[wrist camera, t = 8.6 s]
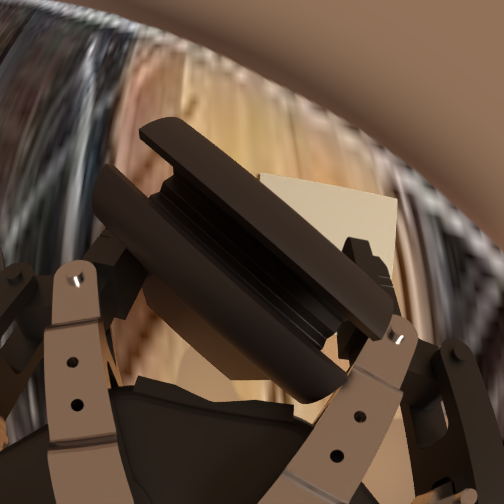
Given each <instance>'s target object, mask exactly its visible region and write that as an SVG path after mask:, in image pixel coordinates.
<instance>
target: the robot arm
mask: <svg viewBox="0 0 504 504" xmlns="http://www.w3.org/2000/svg"><path fill="white" fill-rule="evenodd" d="M342 252H343V253H344V254H345V255H346V256H347V257H348V258H349V259H350V260H351V261H353V262H354V263H355V264H356V265H357V266H358V267H359V268H360V269H361V270H362V271H363V272H365V273H366V274H367V275H368V276H369V277H370V278H371V279H372V280H373V281H374V282H375V283H376V284H377V285H378V286H380V287H381V288H382V289H383V290H384V291H385V292H386V293H387V294H388V295H389V296H390V297H391V298H392V300H393V303H394V309H393V315H392V318H391V321H390V324H389V326H388V328H387V331H386V333H385V335H384V336H383V338H382V340H378V341H374V342H373V341H372V340H371V339H370V338H369V337H367V336H366V335H365V334H364V333H363V332H362V331H361V330H360V329H358V328H357V327H356V326H355V325H354V324H353V323H352V322H351V321H350V320H348V321H345V322H342V323H341V325H340V327H339V328H338V330H337V344H338V358H339V359H346V360H349V363H350V367H349V368H348V370H347V371H346V373H347V377H348V381H347V382H346V383H345V384H343V385H342V386H341V387H340V388H338V389H337V390H336V391H334V392H333V394H332V395H331V397H330V398H329V400H328V402H327V403H326V405H325V406H324V408H323V409H322V411H321V412H320V413H319V415H318V416H317V418H316V419H315V420H314V422H313V423H312V424H311V423H309V422H307V421H305V420H303V419H301V418H299V417H297V416H294V415H293V413H294V405H291V404H282V403H274V402H267V401H259V400H247V401H232V402H211V401H208V400H206V399H204V398H202V397H199V396H197V395H195V394H193V393H191V392H189V391H187V390H185V389H182V388H180V387H178V386H176V385H174V384H170V383H165V382H161V381H157V380H153V379H149V378H146V377H142V376H138V377H137V380H136V383H135V386H134V385H130V386H123V384H122V381H121V377H120V373H119V368H118V363H117V357H116V352H115V346H114V340H113V334H112V328H111V323H112V321H113V319H114V317H115V318H119V319H123V320H126V318H127V315H128V313H129V311H130V309H131V307H132V305H133V303H134V301H135V299H136V297H137V295H138V293H139V291H140V289H141V287H142V285H143V283H144V281H145V279H146V277H147V276H146V274H145V271H144V269H143V267H142V265H141V263H140V262H139V261H138V260H137V259H136V258H135V257H134V256H133V255H132V254H131V253H130V252H129V251H128V250H127V248H126V247H125V246H124V245H123V244H122V243H121V242H120V241H119V240H118V239H117V238H116V237H115V236H114V235H113V234H112V233H111V232H110V231H109V230H108V229H107V228H106V229H105V230H103V232H102V233H101V234H100V237H98V238H97V239H96V241H95V242H94V243H93V245H92V246H91V247H90V248H89V250H88V251H87V252H86V254H85V255H84V256H83V258H82V259H81V260H75V261H71V262H68V263H66V264H64V265H63V266H61V267H60V268H59V269H58V270H57V272H56V273H55V275H38V276H35V274H34V271H33V268H32V266H31V265H30V264H28V263H25V262H18V263H14V264H11V265H9V266H8V267H6V268H5V269H4V261H3V255H2V252H1V249H0V339H1V337H2V336H3V334H4V333H5V332H6V330H7V329H8V327H9V326H10V325H11V323H12V322H13V321H14V319H15V321H16V323H17V325H18V326H17V327H16V328H15V330H14V331H13V332H12V334H11V335H10V337H9V338H8V339H7V341H6V342H5V344H4V345H3V347H2V348H1V350H0V504H379V503H378V501H377V500H376V499H375V498H374V497H373V495H372V494H371V493H370V492H369V490H368V489H367V488H366V487H365V485H364V484H363V483H362V479H363V477H364V475H365V474H366V472H367V470H368V468H369V466H370V465H371V463H372V461H373V459H374V457H375V455H376V453H377V451H378V449H379V447H380V445H381V443H382V441H383V439H384V437H385V435H386V433H387V431H388V428H389V427H390V424H391V422H392V420H393V418H394V416H395V413H396V411H397V409H398V406H399V404H400V407H401V412H402V417H403V422H404V427H405V432H406V438H407V443H408V449H409V455H410V461H411V468H412V475H413V481H414V489H415V499H414V500H413V501H412V502H411V504H504V446H503V442H502V438H501V435H500V431H499V427H498V424H497V421H496V417H495V414H494V411H493V408H492V405H491V402H490V398H489V396H488V393H487V390H486V387H485V384H484V381H483V378H482V376H481V373H480V370H479V368H478V365H477V363H476V360H475V357H474V355H473V353H472V351H471V350H470V348H469V347H468V346H467V345H466V344H465V343H463V342H462V341H460V340H458V339H453V338H450V339H446V340H445V341H444V342H443V343H442V344H441V345H440V346H439V347H438V346H435V345H433V344H430V343H428V342H425V341H423V340H421V339H419V338H418V334H417V331H416V329H415V328H414V326H413V325H412V324H411V323H410V322H409V321H408V320H406V319H405V318H403V317H402V316H401V313H400V309H399V305H398V302H397V298H396V295H395V291H394V288H393V284H392V281H391V279H390V274H389V271H388V268H387V266H386V265H385V263H384V262H383V261H382V260H381V258H380V257H379V256H373V254H372V250H371V247H370V244H369V241H368V240H363V239H358V238H353V237H347V239H346V241H345V243H344V246H343V249H342ZM43 356H44V371H45V392H46V406H47V417H48V424H46V425H45V426H43V427H41V428H40V429H38V430H36V431H34V432H33V433H31V434H29V435H28V436H26V437H24V438H22V439H21V440H19V441H17V442H16V443H14V444H12V445H10V446H9V447H7V448H5V449H3V447H5V446H6V445H7V444H8V436H7V435H6V424H5V421H6V419H7V417H8V415H9V413H10V411H11V410H12V408H13V406H14V404H15V402H16V401H17V399H18V397H19V395H20V394H21V392H22V390H23V388H24V387H25V385H26V383H27V382H28V380H29V378H30V377H31V375H32V373H33V372H34V370H35V368H36V367H37V365H38V364H39V362H40V360H41V359H42V357H43ZM441 401H443V403H444V407H445V410H446V414H447V418H448V430H447V426H446V422H445V418H444V414H443V410H442V406H441V403H440V402H441Z"/></svg>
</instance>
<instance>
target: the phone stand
mask: <svg viewBox="0 0 504 504" xmlns="http://www.w3.org/2000/svg"><path fill="white" fill-rule="evenodd" d="M139 137H140V139H141V140H142V141H143V142H145V143H146V144H147V145H148V146H149V147H150V148H152V149H153V150H154V151H155V152H156V153H157V154H159V155H160V156H161V157H162V158H163V159H165V160H166V161H167V162H168V163H169V164H170V165H172V166H173V173H174V175H173V176H171V177H170V178H168V179H167V180H165V181H164V182H163V184H162V187H161V190H160V192H158V193H155V194H153V195H150V197H149V198H148V197H147V196H146V195H145V194H143V193H142V192H141V191H140V190H139V189H138V188H137V187H136V186H135V185H134V184H133V183H132V182H131V181H130V180H129V179H128V178H126V177H125V176H124V175H123V174H122V173H121V172H120V171H119V170H118V169H117V168H116V167H115V166H114V165H110V164H105V165H104V167H103V169H102V171H101V172H100V174H99V177H98V179H97V181H96V184H95V187H94V191H93V196H92V208H93V212H94V214H95V216H96V217H97V218H98V219H99V220H100V221H101V222H102V223H103V224H104V226H105V227H106V228H107V229H108V230H109V231H110V232H111V233H112V234H113V235H114V236H115V237H116V238H117V239H118V240H119V241H120V242H121V243H122V244H123V245H124V246H125V247H126V248H127V250H128V251H129V252H130V253H131V254H132V255H133V256H134V257H135V258H136V259H137V260H138V261H139V262H140V263H141V265H142V267H143V269H144V271H145V274H146V276H147V277H146V279H145V281H144V283H143V285H142V289H143V293H144V296H145V299H146V302H147V305H148V306H149V307H150V308H151V309H152V310H153V311H154V312H155V313H156V314H157V315H158V316H159V317H161V318H162V319H163V320H164V321H165V322H166V323H167V324H168V325H169V326H170V327H171V328H172V329H173V330H174V331H175V332H176V333H178V334H179V335H180V336H181V337H182V338H183V339H184V340H185V341H186V342H187V343H188V344H190V345H191V346H192V347H193V348H194V349H195V350H196V351H197V352H199V353H200V354H201V355H202V356H203V357H204V358H205V359H207V360H208V361H209V362H210V363H211V364H212V365H213V366H215V367H216V368H217V369H218V370H219V371H220V372H222V373H223V374H224V375H225V376H226V377H228V378H229V379H230V380H271V381H273V382H274V383H275V384H276V385H278V386H279V387H280V388H281V389H283V390H284V391H285V392H286V393H288V394H289V395H290V396H292V397H293V398H294V399H295V400H297V401H298V402H299V403H301V404H310V403H314V402H316V401H319V400H321V399H323V398H325V397H327V396H328V395H330V394H331V393H333V392H334V391H336V390H337V389H338V388H340V387H341V386H342V385H343V384H345V383H346V382H347V381H348V377H347V373H346V372H345V371H344V370H342V369H341V368H340V367H339V366H338V365H336V364H335V363H334V362H333V361H332V360H331V359H329V358H328V357H327V356H326V355H325V354H323V353H322V352H321V351H320V350H321V349H322V348H323V347H324V344H325V342H326V339H327V338H329V337H331V336H332V335H334V334H335V333H336V332H337V330H338V328H339V327H340V325H341V323H342V322H345V321H348V320H350V321H351V322H352V323H353V324H354V325H355V326H356V327H357V328H358V329H360V330H361V331H362V332H363V333H364V334H365V335H366V336H367V337H369V338H370V339H371V340H372V341H373V342H374V341H378V340H382V338H383V336H384V335H385V333H386V331H387V328H388V326H389V324H390V321H391V318H392V315H393V309H394V303H393V300H392V298H391V297H390V296H389V295H388V294H387V293H386V292H385V291H384V290H383V289H382V288H381V287H380V286H378V285H377V284H376V283H375V282H374V281H373V280H372V279H371V278H370V277H369V276H368V275H367V274H366V273H365V272H363V271H362V270H361V269H360V268H359V267H358V266H357V265H356V264H355V263H354V262H353V261H351V260H350V259H349V258H348V257H347V256H346V255H345V254H344V253H343V252H342V251H340V250H339V249H338V248H337V247H336V246H335V245H334V244H333V243H331V242H330V241H329V240H328V239H327V238H326V237H325V236H324V235H322V234H321V233H320V232H319V231H318V230H317V229H316V228H314V227H313V226H312V225H311V224H310V223H309V222H308V221H306V220H305V219H304V218H303V217H302V216H301V215H299V214H298V213H297V212H296V211H295V210H294V209H292V208H291V207H290V206H289V205H288V204H287V203H285V202H284V201H283V200H282V199H281V198H279V197H278V196H277V195H276V194H275V193H274V192H272V191H271V190H270V189H269V188H268V187H266V186H265V185H264V184H263V183H261V182H260V181H259V180H258V179H257V178H255V177H254V176H253V175H252V174H251V173H249V172H248V171H247V170H246V169H244V168H243V167H242V166H241V165H239V164H238V163H237V162H236V161H234V160H233V159H232V158H231V157H229V156H228V155H227V154H226V153H224V152H223V151H222V150H221V149H219V148H218V147H217V146H215V145H214V144H213V143H212V142H210V141H209V140H208V139H207V138H205V137H204V136H203V135H201V134H200V133H199V132H197V131H196V130H195V129H194V128H192V127H191V126H190V125H188V124H187V123H186V122H184V121H183V120H181V119H179V118H176V117H166V118H161V119H158V120H155V121H153V122H150V123H148V124H146V125H145V126H143V127H141V128H140V129H139Z"/></svg>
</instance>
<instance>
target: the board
mask: <svg viewBox="0 0 504 504" xmlns="http://www.w3.org/2000/svg"><path fill="white" fill-rule="evenodd" d="M260 182H261V183H263V184H264V185H265V186H266V187H268V188H269V189H270V190H271V191H272V192H274V193H275V194H276V195H277V196H278V197H279V198H281V199H282V200H283V201H284V202H285V203H287V204H288V205H289V206H290V207H291V208H292V209H294V210H295V211H296V212H297V213H298V214H299V215H301V216H302V217H303V218H304V219H305V220H306V221H308V222H309V223H310V224H311V225H312V226H313V227H314V228H316V229H317V230H318V231H319V232H320V233H321V234H322V235H324V236H325V237H326V238H327V239H328V240H329V241H330V242H331V243H333V244H334V245H335V246H336V247H337V248H338V249H339V250H340V251H342V249H343V246H344V243H345V241H346V239H347V237H353V238H358V239H363V240H368V241H369V244H370V247H371V250H372V254H373V256H379V257H380V258H381V260H382V261H383V262H384V263H385V265H386V266H387V268H388V271H389V274H390V279H391V280H392V270H393V260H394V249H395V236H396V219H397V199H395V198H391V197H387V196H382V195H378V194H373V193H369V192H364V191H359V190H354V189H350V188H345V187H340V186H334V185H329V184H324V183H319V182H313V181H308V180H302V179H296V178H291V177H285V176H279V175H272V174H266V173H261V175H260ZM334 335H337V332H336V333H335V334H334Z"/></svg>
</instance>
